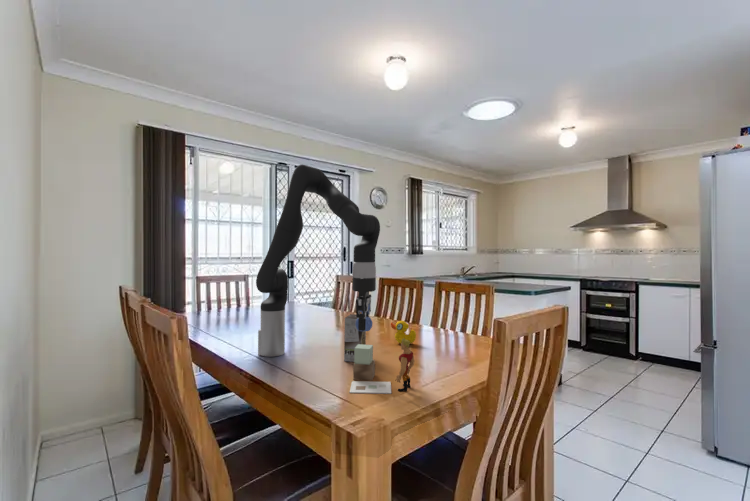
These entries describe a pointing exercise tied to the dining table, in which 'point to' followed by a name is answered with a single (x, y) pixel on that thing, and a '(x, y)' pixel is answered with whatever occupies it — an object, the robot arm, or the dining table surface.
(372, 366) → the base block
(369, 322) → the decorative dice
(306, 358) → the dining table surface
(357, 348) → the sage cube
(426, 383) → the dining table surface
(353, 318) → the coffee box
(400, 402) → the dining table surface
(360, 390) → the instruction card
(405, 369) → the action figure
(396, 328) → the duckling
